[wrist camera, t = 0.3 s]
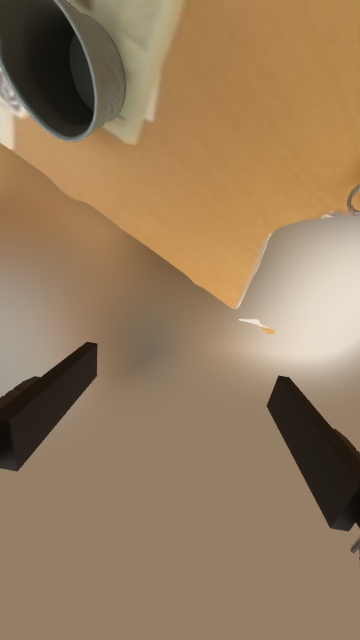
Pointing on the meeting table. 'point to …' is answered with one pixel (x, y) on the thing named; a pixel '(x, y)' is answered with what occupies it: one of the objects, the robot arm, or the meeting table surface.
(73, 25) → the grey cup
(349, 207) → the glass holder
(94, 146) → the meeting table surface
